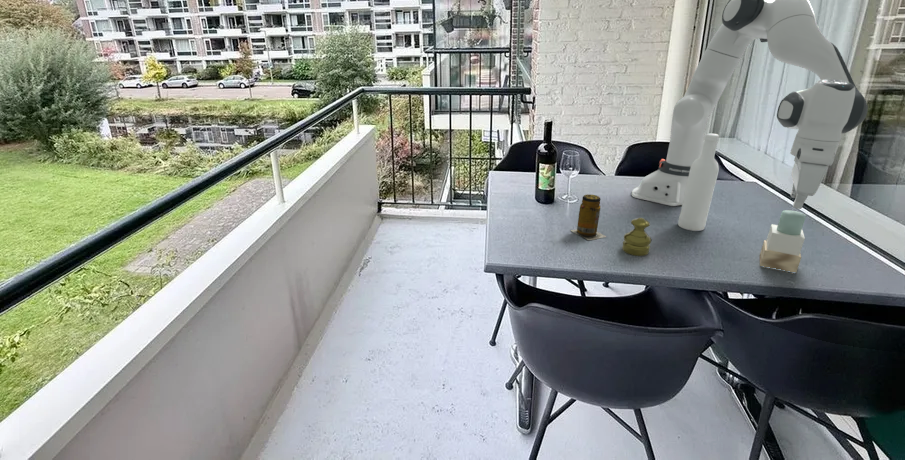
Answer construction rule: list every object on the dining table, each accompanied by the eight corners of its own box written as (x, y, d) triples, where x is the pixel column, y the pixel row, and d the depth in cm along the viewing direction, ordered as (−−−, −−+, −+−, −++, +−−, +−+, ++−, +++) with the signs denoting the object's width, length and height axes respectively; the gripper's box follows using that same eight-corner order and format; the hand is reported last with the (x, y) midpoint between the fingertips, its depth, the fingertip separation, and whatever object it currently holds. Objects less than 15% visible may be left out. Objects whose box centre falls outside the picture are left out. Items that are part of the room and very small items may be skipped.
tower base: (759, 267, 123) (764, 250, 121) (759, 255, 130) (764, 239, 128) (795, 274, 120) (801, 257, 118) (793, 262, 126) (798, 246, 124)
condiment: (587, 227, 147) (592, 192, 143) (606, 237, 140) (612, 200, 136) (569, 231, 144) (574, 195, 140) (588, 241, 137) (593, 203, 133)
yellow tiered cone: (653, 256, 128) (660, 223, 124) (628, 257, 128) (634, 223, 124) (641, 245, 135) (647, 213, 131) (617, 245, 134) (622, 214, 131)
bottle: (704, 224, 150) (727, 133, 138) (704, 233, 144) (728, 138, 132) (678, 220, 154) (698, 130, 142) (676, 228, 147) (697, 135, 136)
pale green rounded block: (777, 232, 120) (782, 214, 118) (776, 226, 124) (781, 208, 122) (801, 236, 117) (807, 218, 115) (799, 230, 121) (805, 212, 120)
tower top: (767, 249, 122) (772, 232, 120) (766, 240, 127) (771, 224, 125) (798, 256, 118) (804, 238, 116) (796, 246, 124) (802, 229, 122)
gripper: (795, 140, 122) (779, 189, 127) (801, 155, 106) (782, 211, 111) (824, 143, 119) (806, 193, 124) (835, 160, 103) (814, 217, 108)
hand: (795, 202), depth 118 cm, fingers open, 8 cm apart
